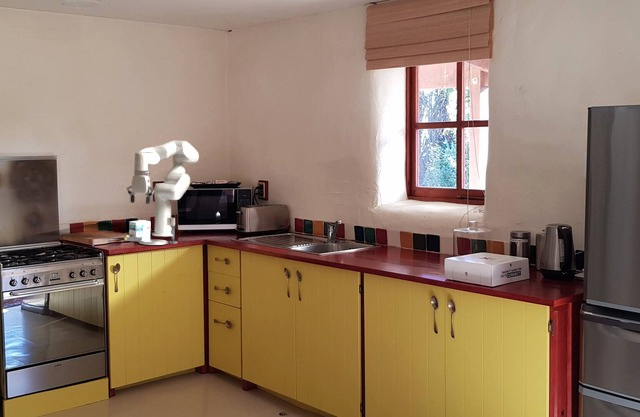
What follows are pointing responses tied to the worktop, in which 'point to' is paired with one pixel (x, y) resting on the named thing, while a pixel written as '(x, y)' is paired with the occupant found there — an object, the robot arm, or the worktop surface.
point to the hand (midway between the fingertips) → (140, 203)
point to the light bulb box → (140, 229)
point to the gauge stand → (172, 223)
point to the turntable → (147, 242)
